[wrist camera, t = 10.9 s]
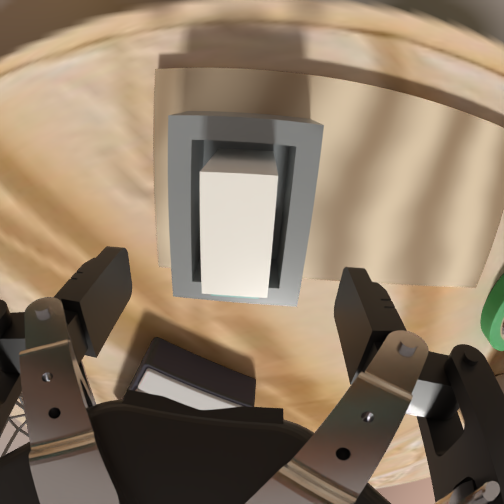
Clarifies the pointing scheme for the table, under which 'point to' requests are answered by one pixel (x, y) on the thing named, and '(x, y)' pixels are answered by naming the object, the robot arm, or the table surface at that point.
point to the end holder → (287, 201)
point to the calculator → (191, 379)
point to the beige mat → (363, 172)
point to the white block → (237, 222)
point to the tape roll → (494, 316)
